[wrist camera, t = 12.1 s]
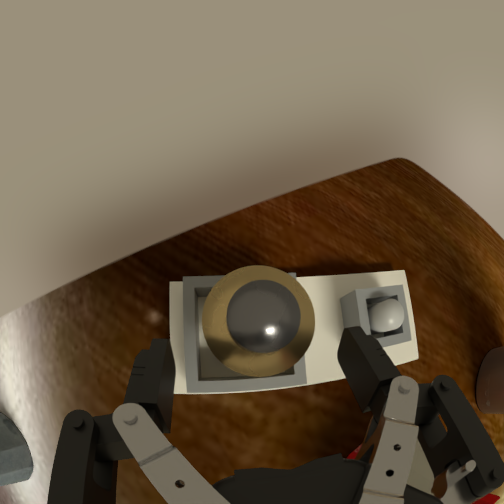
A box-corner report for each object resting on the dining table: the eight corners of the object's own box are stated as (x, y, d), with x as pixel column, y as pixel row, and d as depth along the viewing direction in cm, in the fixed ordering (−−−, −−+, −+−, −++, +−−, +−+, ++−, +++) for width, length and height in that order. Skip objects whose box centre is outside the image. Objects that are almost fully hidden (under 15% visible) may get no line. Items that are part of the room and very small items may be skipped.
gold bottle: (270, 305, 21) (316, 253, 11) (275, 364, 20) (331, 370, 9) (209, 308, 21) (198, 257, 11) (213, 368, 19) (203, 383, 9)
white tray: (396, 274, 25) (428, 255, 20) (409, 359, 22) (445, 355, 17) (172, 286, 23) (159, 265, 18) (176, 391, 19) (162, 401, 14)
